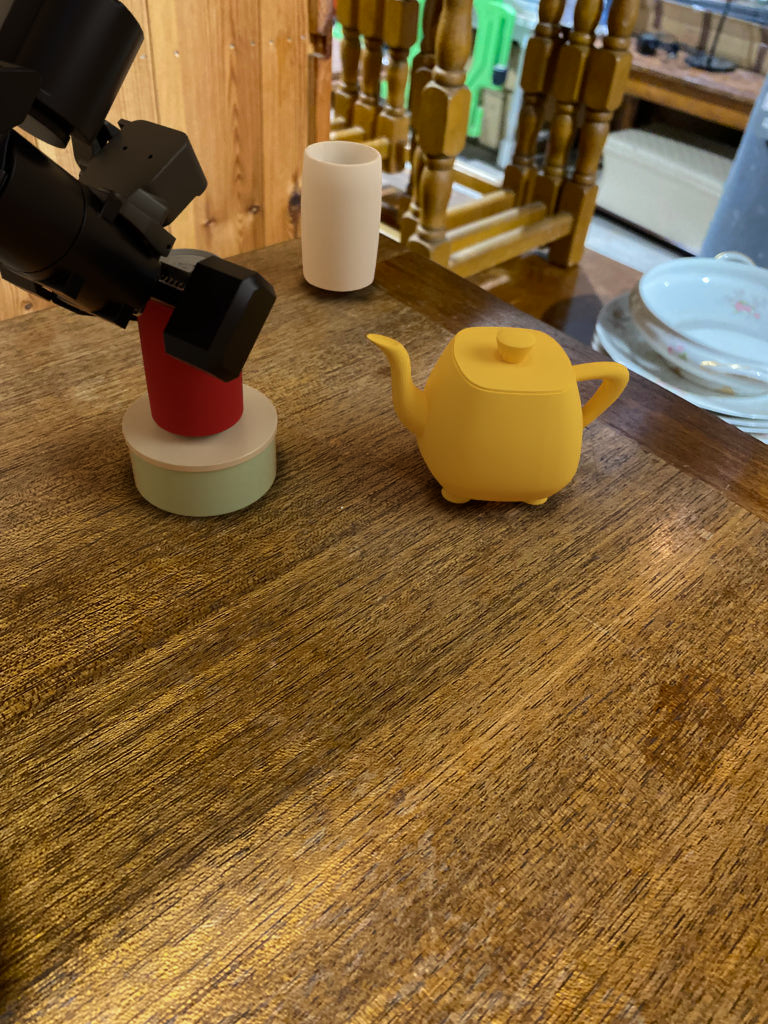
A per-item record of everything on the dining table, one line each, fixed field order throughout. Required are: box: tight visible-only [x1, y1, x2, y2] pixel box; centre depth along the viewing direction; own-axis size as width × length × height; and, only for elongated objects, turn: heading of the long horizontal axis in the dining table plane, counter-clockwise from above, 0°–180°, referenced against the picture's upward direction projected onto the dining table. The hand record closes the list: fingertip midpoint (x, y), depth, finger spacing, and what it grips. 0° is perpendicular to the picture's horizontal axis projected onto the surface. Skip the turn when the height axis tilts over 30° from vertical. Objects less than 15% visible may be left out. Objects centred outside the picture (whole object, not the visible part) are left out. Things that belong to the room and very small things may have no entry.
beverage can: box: [136, 247, 244, 438], centre depth 54 cm, size 7×7×12 cm
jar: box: [121, 383, 279, 518], centre depth 60 cm, size 11×11×5 cm
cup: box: [300, 140, 383, 292], centre depth 83 cm, size 8×8×14 cm
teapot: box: [366, 326, 630, 506], centre depth 60 cm, size 13×20×12 cm
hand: (205, 333), depth 55 cm, fingers closed on beverage can, 7 cm apart
